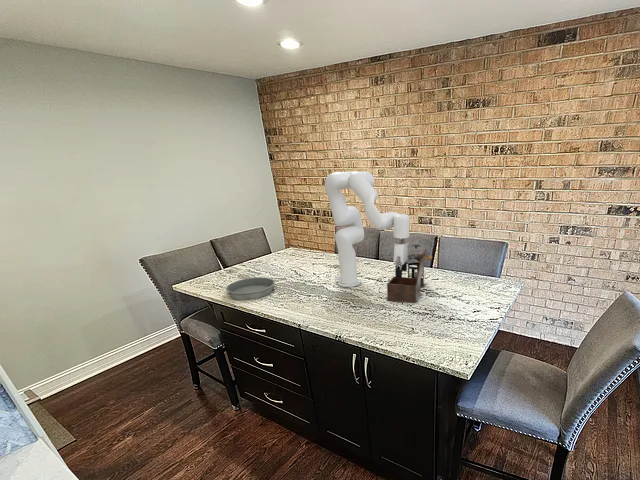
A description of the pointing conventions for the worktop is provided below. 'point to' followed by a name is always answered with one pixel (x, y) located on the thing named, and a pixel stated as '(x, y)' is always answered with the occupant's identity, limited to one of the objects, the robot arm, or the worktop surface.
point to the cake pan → (250, 288)
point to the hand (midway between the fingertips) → (401, 274)
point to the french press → (414, 274)
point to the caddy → (403, 289)
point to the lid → (422, 265)
